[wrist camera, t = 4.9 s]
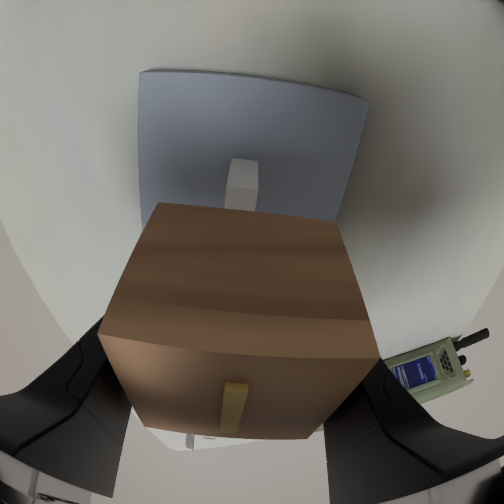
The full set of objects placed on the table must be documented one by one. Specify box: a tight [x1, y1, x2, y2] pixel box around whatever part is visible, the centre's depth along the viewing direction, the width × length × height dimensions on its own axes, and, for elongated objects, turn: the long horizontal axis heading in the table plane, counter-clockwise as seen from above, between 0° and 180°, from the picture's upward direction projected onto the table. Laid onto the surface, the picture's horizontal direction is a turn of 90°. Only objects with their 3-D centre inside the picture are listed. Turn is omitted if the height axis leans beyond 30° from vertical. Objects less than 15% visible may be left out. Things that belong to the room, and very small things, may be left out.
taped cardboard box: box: [97, 202, 380, 440], centre depth 9 cm, size 6×6×5 cm
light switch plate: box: [138, 70, 370, 230], centre depth 16 cm, size 12×12×5 cm
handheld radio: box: [314, 328, 489, 432], centre depth 29 cm, size 7×3×25 cm
